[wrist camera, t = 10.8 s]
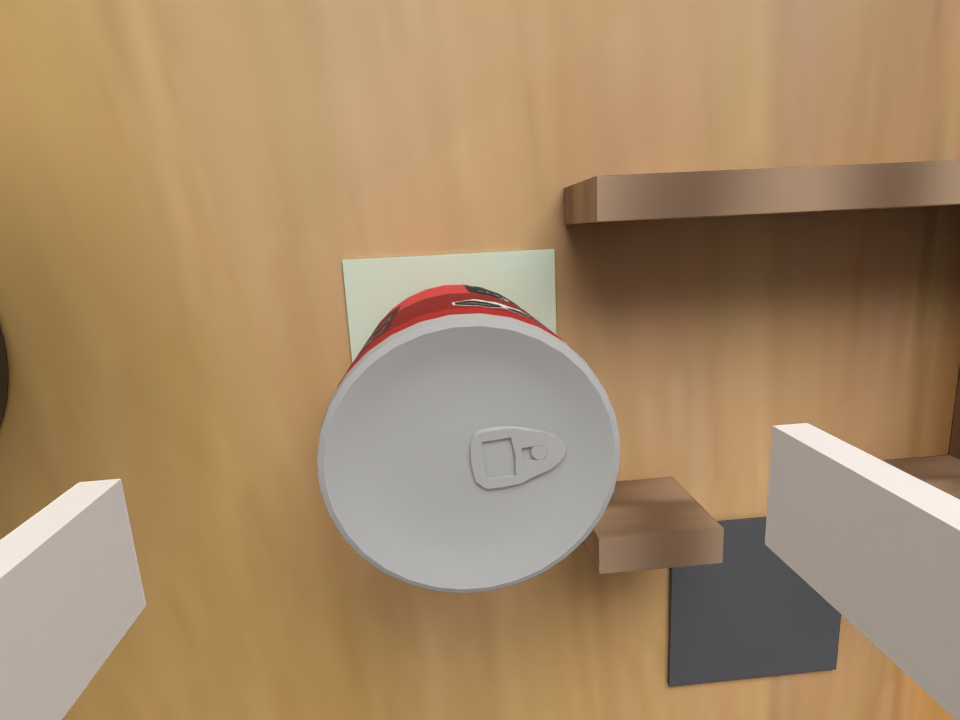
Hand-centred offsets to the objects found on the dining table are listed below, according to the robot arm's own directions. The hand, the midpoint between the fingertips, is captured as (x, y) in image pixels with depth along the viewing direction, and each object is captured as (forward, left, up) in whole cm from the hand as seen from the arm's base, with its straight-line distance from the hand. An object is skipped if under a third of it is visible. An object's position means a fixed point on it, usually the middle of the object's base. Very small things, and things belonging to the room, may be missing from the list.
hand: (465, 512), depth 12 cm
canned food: (0, 0, -14) cm, 14 cm away
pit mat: (+15, -13, -14) cm, 24 cm away
